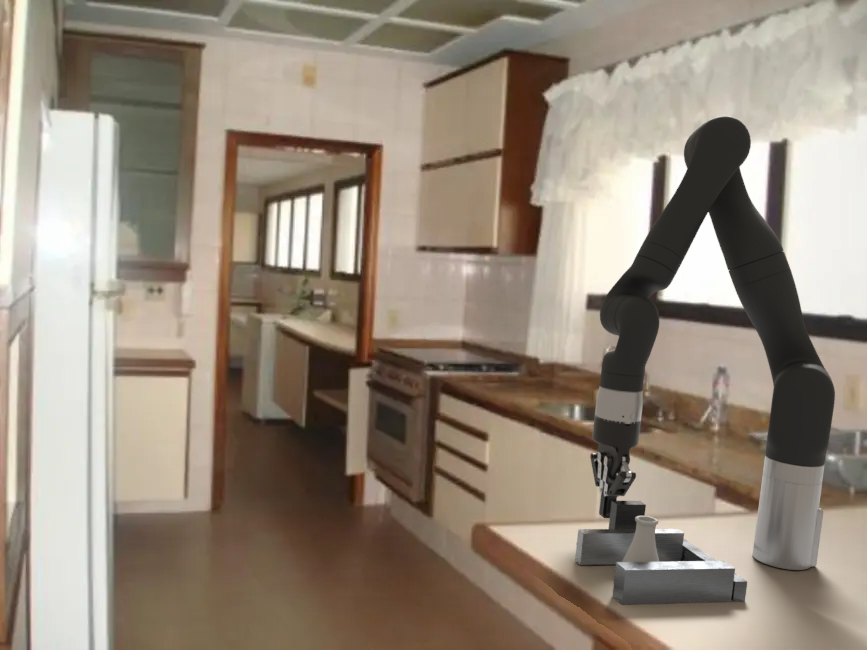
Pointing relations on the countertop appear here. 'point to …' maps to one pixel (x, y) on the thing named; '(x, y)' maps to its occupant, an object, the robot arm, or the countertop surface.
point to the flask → (643, 541)
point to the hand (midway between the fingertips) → (606, 516)
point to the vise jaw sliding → (624, 537)
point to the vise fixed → (678, 580)
